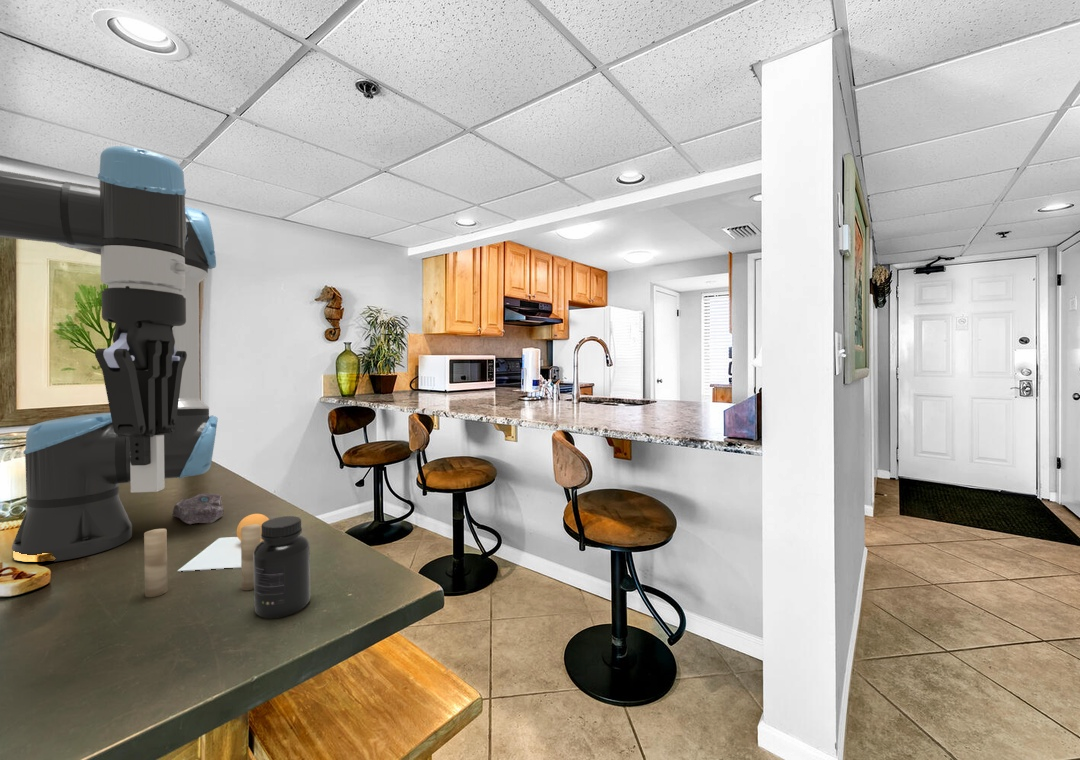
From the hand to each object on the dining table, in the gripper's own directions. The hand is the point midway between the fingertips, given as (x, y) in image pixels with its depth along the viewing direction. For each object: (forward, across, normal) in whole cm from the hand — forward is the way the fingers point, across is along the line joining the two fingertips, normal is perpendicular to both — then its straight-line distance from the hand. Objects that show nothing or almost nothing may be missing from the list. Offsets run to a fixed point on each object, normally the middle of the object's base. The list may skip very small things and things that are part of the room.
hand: (147, 490), depth 55 cm
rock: (+19, +48, +17) cm, 54 cm away
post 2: (+18, +13, -6) cm, 23 cm away
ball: (+16, +30, 0) cm, 34 cm away
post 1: (+18, +13, +6) cm, 23 cm away
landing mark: (+18, +27, 0) cm, 33 cm away
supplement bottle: (+19, +6, -13) cm, 23 cm away
